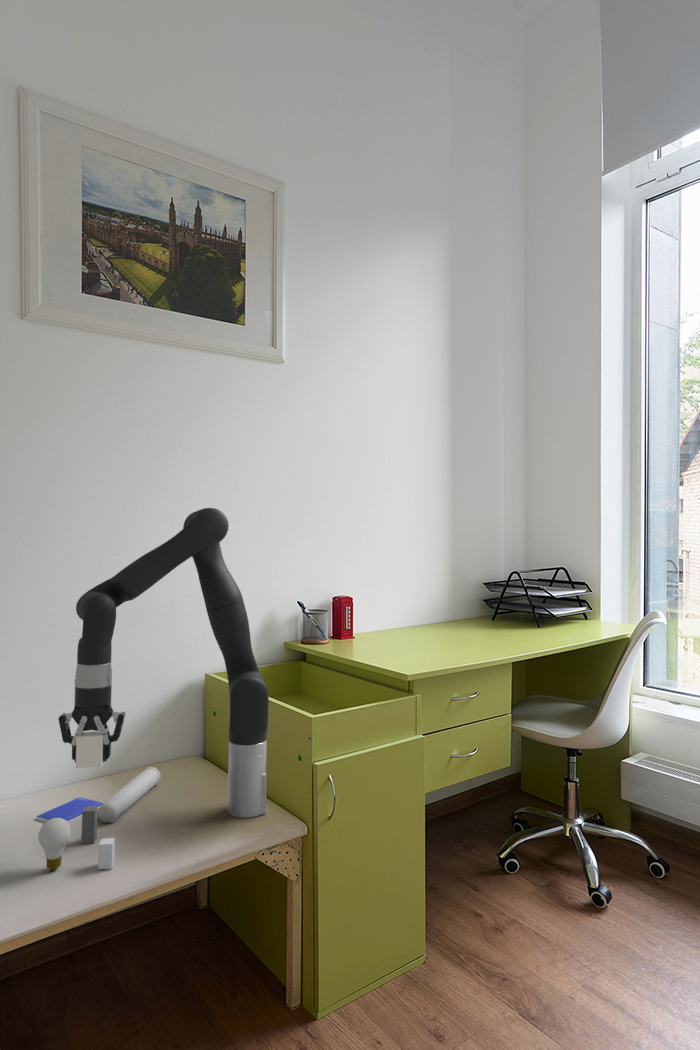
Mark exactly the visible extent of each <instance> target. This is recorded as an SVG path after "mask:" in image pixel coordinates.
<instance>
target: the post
mask: <svg viewBox="0 0 700 1050" xmlns="http://www.w3.org/2000/svg"><path fill="white" fill-rule="evenodd" d="M98 810H99V809H98V806H88V807H85V808H84V809H83V811H82V817H81V845H91V844H90V843H93V844H95V843H94V842H96V841H95V840H97V839H96V838H98Z"/></svg>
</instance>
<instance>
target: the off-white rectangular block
mask: <svg viewBox="0 0 700 1050" xmlns="http://www.w3.org/2000/svg"><path fill="white" fill-rule="evenodd" d="M103 745H104V742H103V735H100V734H99V731H95V730H88V731H84V732H83V733H82V734H81V735H80V736H77V741H76V763H75V769H85V768H87V769H88V768H91V769H92V768H102V767H103V765H104V763H105V762H103Z"/></svg>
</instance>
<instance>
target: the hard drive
mask: <svg viewBox="0 0 700 1050" xmlns="http://www.w3.org/2000/svg"><path fill="white" fill-rule="evenodd" d="M103 803H104V802H101V801H97V800H94V799H89V798H85V797H80V796H79V797H76V798H74V799H73V800H70V801H68V802H66V803H63V804H61V805H59V806H56V807H54V808H52V809H49V810H47V811H44V812H43V813H41V814H39V815H36V820H37V821H41V822H44V823H46V822H47V821H48V820H50V819H53V818H62V819H64V820H66V821H67V822H68V824H70V823H71V822H73V821H76V820H77V819H79V818H82V811H83V809H84V808H85V807H88V806H98V809H97V810H99V808H100V807H101V805H102V804H103Z"/></svg>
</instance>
